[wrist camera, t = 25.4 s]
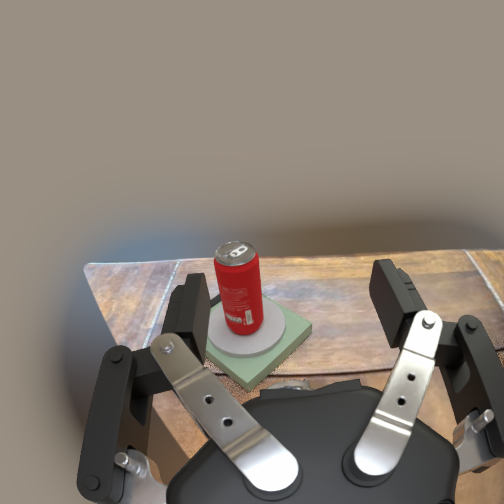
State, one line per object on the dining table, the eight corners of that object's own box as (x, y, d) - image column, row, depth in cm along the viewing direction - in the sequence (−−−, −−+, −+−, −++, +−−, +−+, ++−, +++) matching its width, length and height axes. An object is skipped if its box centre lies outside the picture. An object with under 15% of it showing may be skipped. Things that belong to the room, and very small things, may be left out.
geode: (327, 411, 33) (329, 405, 32) (267, 438, 31) (266, 433, 30) (302, 373, 38) (303, 365, 37) (246, 395, 36) (244, 388, 35)
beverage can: (219, 323, 42) (203, 254, 35) (246, 304, 45) (237, 235, 38) (244, 344, 39) (232, 272, 32) (271, 322, 42) (267, 250, 35)
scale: (240, 290, 53) (238, 275, 51) (311, 333, 43) (312, 318, 42) (180, 333, 45) (174, 318, 43) (249, 392, 36) (246, 379, 34)
